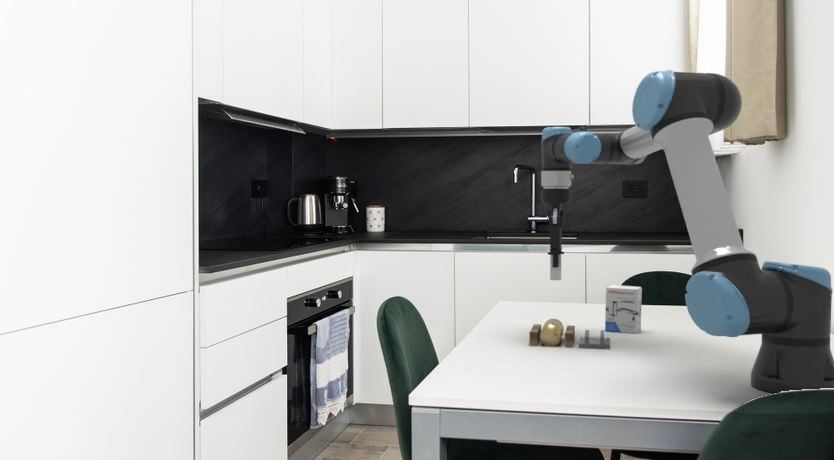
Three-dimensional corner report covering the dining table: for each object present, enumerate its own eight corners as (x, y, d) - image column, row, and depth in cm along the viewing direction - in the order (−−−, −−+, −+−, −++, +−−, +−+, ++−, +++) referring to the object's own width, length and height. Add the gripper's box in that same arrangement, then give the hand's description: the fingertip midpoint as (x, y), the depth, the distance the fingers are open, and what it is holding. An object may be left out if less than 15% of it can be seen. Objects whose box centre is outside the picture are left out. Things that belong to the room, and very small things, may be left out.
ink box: (604, 331, 218) (604, 286, 217) (609, 328, 222) (609, 284, 221) (637, 333, 214) (637, 288, 213) (641, 331, 218) (642, 286, 217)
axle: (561, 346, 196) (560, 325, 196) (540, 347, 197) (539, 326, 197) (564, 338, 207) (563, 318, 207) (544, 338, 208) (542, 318, 208)
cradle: (609, 349, 193) (609, 337, 193) (578, 347, 194) (578, 336, 194) (609, 342, 201) (609, 330, 201) (580, 341, 203) (580, 329, 203)
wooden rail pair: (572, 347, 195) (572, 333, 195) (529, 345, 197) (529, 332, 197) (574, 338, 207) (574, 325, 207) (533, 336, 209) (533, 324, 209)
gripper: (570, 187, 205) (569, 283, 206) (572, 188, 218) (571, 277, 219) (539, 187, 207) (538, 282, 208) (543, 188, 219) (542, 276, 220)
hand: (555, 279), depth 213 cm, fingers closed
